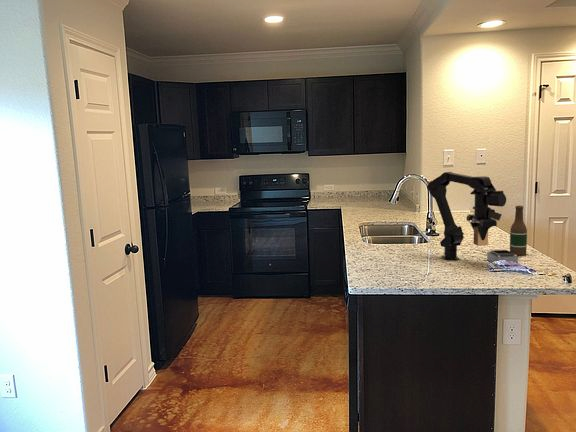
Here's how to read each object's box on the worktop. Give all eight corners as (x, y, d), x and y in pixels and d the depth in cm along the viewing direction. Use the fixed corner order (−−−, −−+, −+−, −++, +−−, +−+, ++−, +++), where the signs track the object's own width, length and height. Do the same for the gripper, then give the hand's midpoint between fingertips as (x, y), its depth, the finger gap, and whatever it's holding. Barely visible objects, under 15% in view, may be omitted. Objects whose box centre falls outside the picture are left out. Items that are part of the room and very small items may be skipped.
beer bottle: (512, 251, 236) (514, 204, 233) (529, 254, 231) (530, 205, 227) (506, 254, 231) (507, 206, 227) (523, 257, 225) (525, 207, 222)
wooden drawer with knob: (473, 243, 215) (473, 223, 214) (483, 243, 215) (483, 223, 214) (477, 245, 211) (478, 225, 210) (487, 245, 211) (488, 225, 210)
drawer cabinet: (487, 260, 222) (487, 249, 221) (505, 259, 222) (506, 249, 221) (497, 266, 211) (498, 255, 210) (517, 265, 211) (518, 254, 211)
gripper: (509, 206, 201) (508, 242, 204) (489, 201, 220) (489, 234, 222) (483, 207, 201) (482, 243, 204) (466, 202, 220) (465, 235, 222)
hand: (480, 239), depth 213 cm, fingers closed on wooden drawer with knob, 5 cm apart
